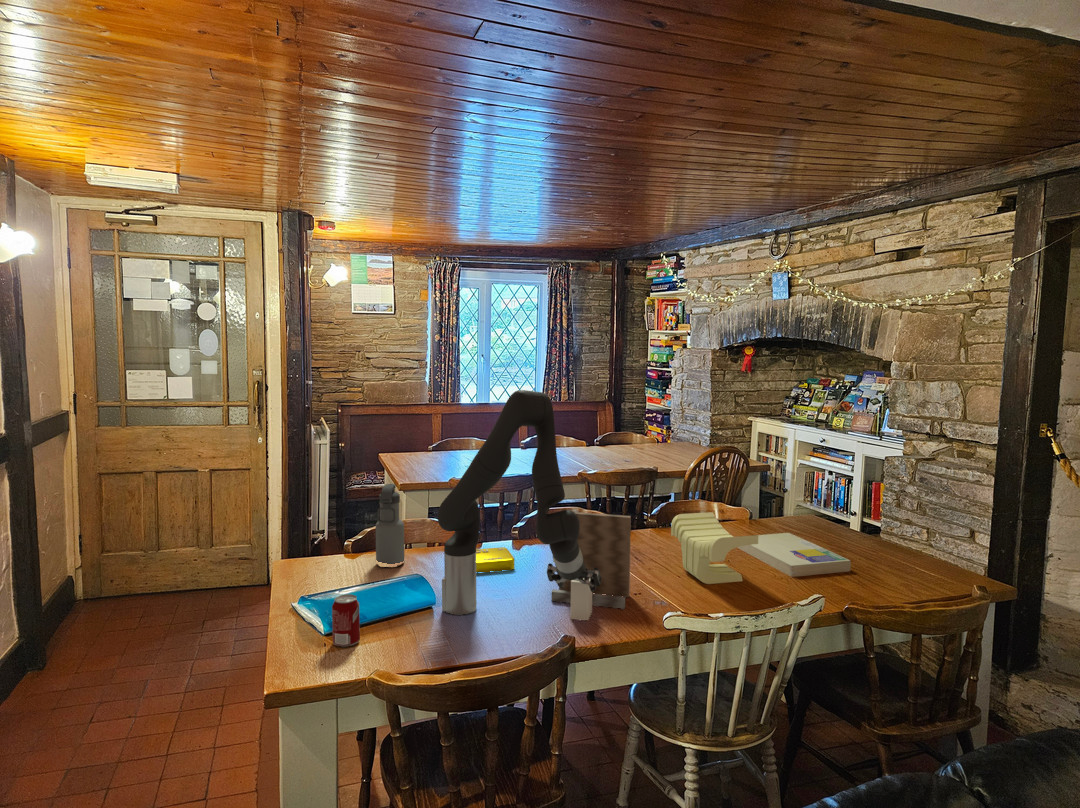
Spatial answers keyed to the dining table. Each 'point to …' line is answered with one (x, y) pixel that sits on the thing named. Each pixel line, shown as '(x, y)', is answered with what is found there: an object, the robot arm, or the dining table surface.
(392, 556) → the water bottle
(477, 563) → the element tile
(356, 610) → the soda can
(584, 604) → the beige rectangular block
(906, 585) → the dining table surface
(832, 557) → the puzzle box
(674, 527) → the slatted curved stool
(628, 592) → the wall board
